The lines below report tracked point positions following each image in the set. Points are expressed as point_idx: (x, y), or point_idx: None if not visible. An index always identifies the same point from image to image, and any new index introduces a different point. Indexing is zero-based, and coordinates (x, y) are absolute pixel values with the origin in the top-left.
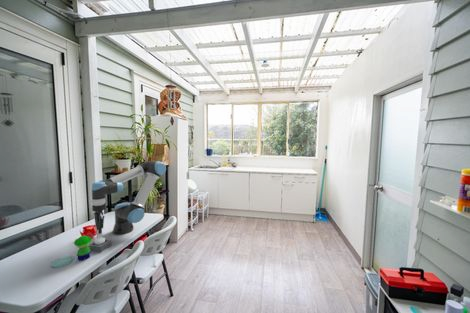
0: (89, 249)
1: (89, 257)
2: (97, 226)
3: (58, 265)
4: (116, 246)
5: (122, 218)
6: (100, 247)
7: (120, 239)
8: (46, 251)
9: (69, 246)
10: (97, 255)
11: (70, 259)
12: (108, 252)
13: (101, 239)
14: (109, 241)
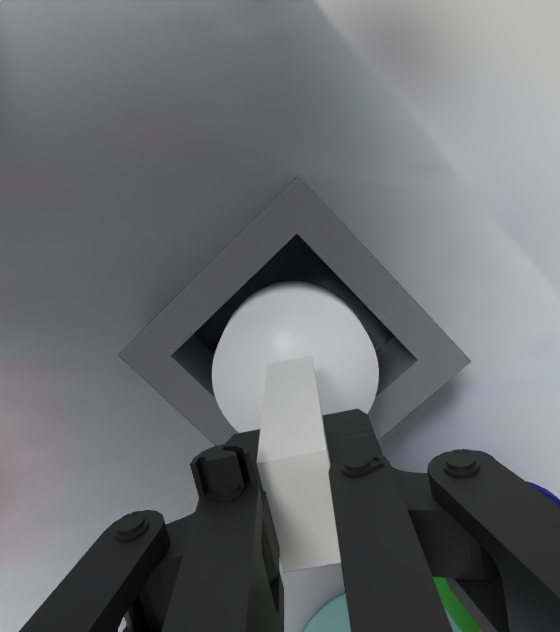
0: None
1: (492, 457)
2: (281, 605)
3: None
4: (397, 124)
5: None
6: (463, 360)
7: (165, 22)
8: None
9: (9, 623)
10: (496, 375)
11: None
12: (514, 249)
13: (317, 354)
14: (337, 218)
